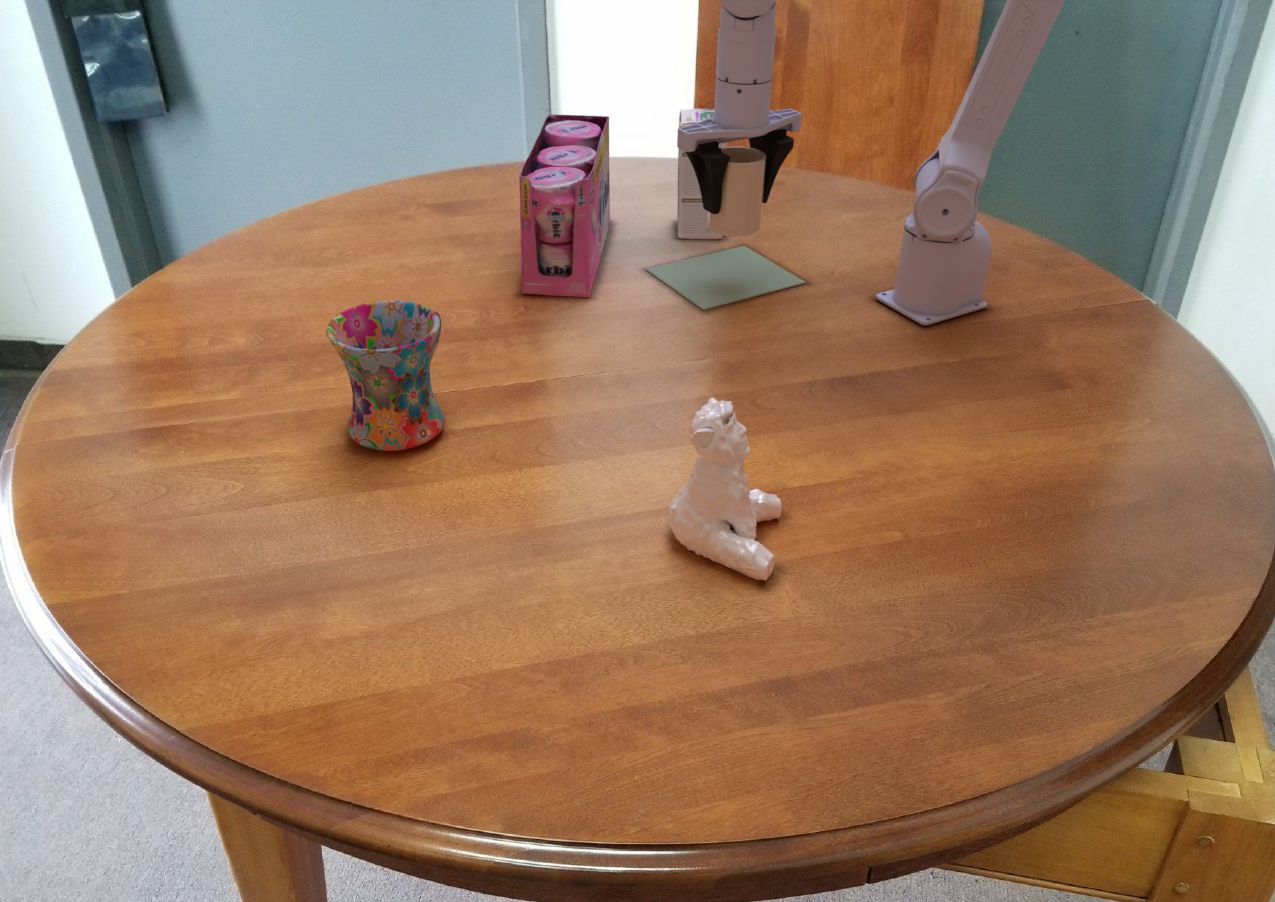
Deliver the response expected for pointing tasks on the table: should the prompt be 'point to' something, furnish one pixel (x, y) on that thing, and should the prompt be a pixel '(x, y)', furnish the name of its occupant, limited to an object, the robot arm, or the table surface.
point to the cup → (741, 193)
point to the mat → (724, 277)
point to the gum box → (565, 205)
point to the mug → (389, 372)
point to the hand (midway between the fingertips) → (735, 205)
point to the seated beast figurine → (723, 497)
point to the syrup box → (692, 187)
